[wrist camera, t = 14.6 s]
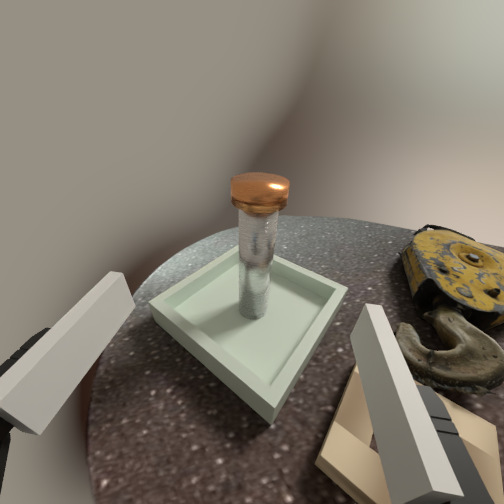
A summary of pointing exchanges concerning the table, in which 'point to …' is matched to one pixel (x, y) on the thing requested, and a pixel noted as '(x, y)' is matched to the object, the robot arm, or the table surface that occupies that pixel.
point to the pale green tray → (251, 327)
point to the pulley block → (454, 311)
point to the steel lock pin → (257, 236)
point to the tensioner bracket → (368, 461)
